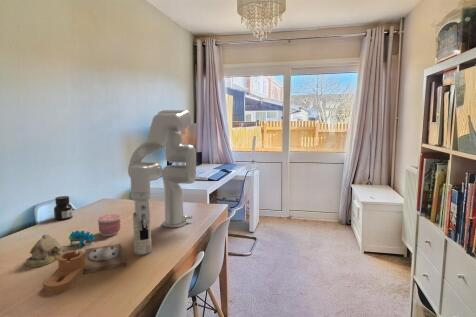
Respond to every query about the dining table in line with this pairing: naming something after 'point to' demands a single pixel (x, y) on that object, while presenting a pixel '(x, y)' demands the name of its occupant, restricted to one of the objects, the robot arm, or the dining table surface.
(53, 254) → the ceramic model
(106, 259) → the flange board
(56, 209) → the ink bottle
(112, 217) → the container
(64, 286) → the bracket
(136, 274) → the dining table surface
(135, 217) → the aerosol can
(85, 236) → the gear
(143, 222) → the robot arm
